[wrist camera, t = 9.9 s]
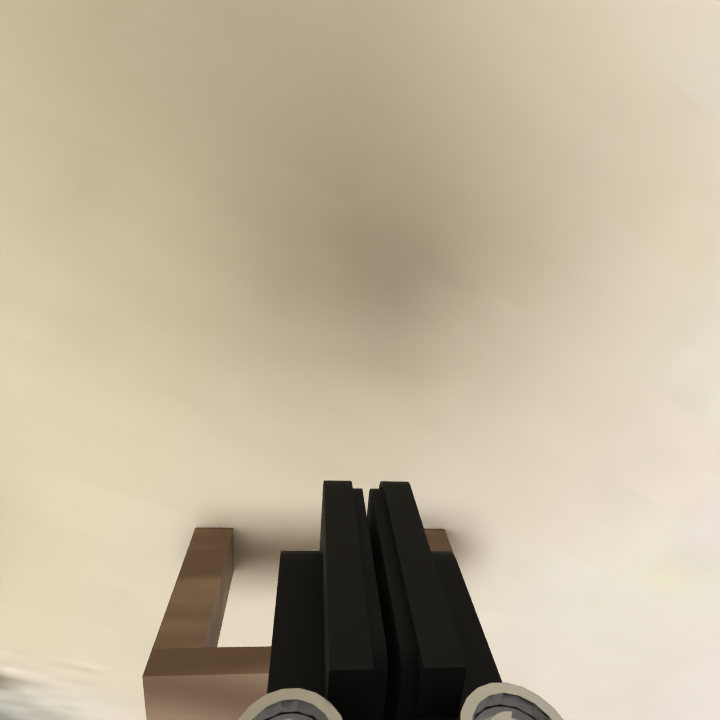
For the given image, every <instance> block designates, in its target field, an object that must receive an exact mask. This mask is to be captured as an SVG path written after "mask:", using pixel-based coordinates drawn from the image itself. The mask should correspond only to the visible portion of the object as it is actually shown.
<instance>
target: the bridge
mask: <svg viewBox="0 0 720 720" xmlns="http://www.w3.org/2000/svg"><path fill="white" fill-rule="evenodd" d="M424 531H425V534H426V537H427V540H428V544H429V547H430V550H431V551H451V552H452V553H453V551H452V549H451V546H450V543H449V541H448V538H447V535H446V533H445V530H444V529H424ZM232 575H233V528H195V531H194V533H193V536H192V539H191V542H190V545H189V547H188V550H187V553H186V556H185V559H184V561H183V564H182V567H181V570H180V573H179V575H178V578H177V581H176V584H175V587H174V589H173V592H172V595H171V598H170V601H169V603H168V606H167V609H166V612H165V615H164V618H163V620H162V623H161V626H160V629H159V632H158V634H157V637H156V640H155V643H154V646H153V648H152V651H151V654H150V657H149V660H148V662H147V665H146V668H145V671H144V674H143V676H142V677H143V687H144V697H145V707H146V717H147V720H238V719H239V718H240V717H241V716H242V715H243V713H244V712H245V711H246V710H247V709H248V707H249V706H250V705H251V704H253V703H254V702H256V701H257V700H259V699H260V698H262V697H263V696H264V695H266V694H267V687H268V677H269V667H270V657H271V647H219V648H217V644H218V640H219V635H220V630H221V626H222V621H223V617H224V612H225V607H226V603H227V598H228V594H229V589H230V584H231V580H232Z"/></svg>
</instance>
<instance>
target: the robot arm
mask: <svg viewBox="0 0 720 720" xmlns="http://www.w3.org/2000/svg"><path fill="white" fill-rule="evenodd" d="M238 720H563V719H562V718H561V716H560V715H559V714H558V712H557V711H556V710H555V709H554V708H553V707H552V706H551V705H550V704H548V703H547V702H546V701H545V700H544V699H543V698H541V697H540V696H539V695H537V694H535V693H533V692H531V691H529V690H528V689H526V688H524V687H521V686H517V685H513V684H510V683H502V680H501V678H500V675H499V672H498V670H497V667H496V664H495V662H494V659H493V656H492V654H491V651H490V648H489V646H488V643H487V640H486V638H485V635H484V632H483V630H482V627H481V624H480V622H479V619H478V616H477V614H476V611H475V608H474V606H473V603H472V600H471V598H470V595H469V592H468V590H467V587H466V584H465V582H464V579H463V576H462V574H461V571H460V568H459V566H458V563H457V560H456V558H455V556H454V554H453V553H452V552H451V551H431V550H430V547H429V544H428V540H427V537H426V534H425V531H424V528H423V525H422V521H421V518H420V515H419V512H418V509H417V505H416V502H415V499H414V496H413V493H412V490H411V486H410V484H409V482H389V481H381V482H380V485H379V489H370V491H369V499H368V510H367V516H366V510H365V503H364V497H363V490H362V489H355V488H352V482H351V481H324V483H323V498H322V517H321V535H320V551H281V556H280V565H279V575H278V586H277V596H276V606H275V616H274V626H273V636H272V646H271V657H270V667H269V677H268V687H267V694H266V695H264V696H263V697H262V698H260V699H259V700H257V701H256V702H254V703H253V704H251V705H250V706H249V707H248V709H247V710H246V711H245V712H244V713H243V715H242V716H241V717H240V718H239V719H238Z"/></svg>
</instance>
